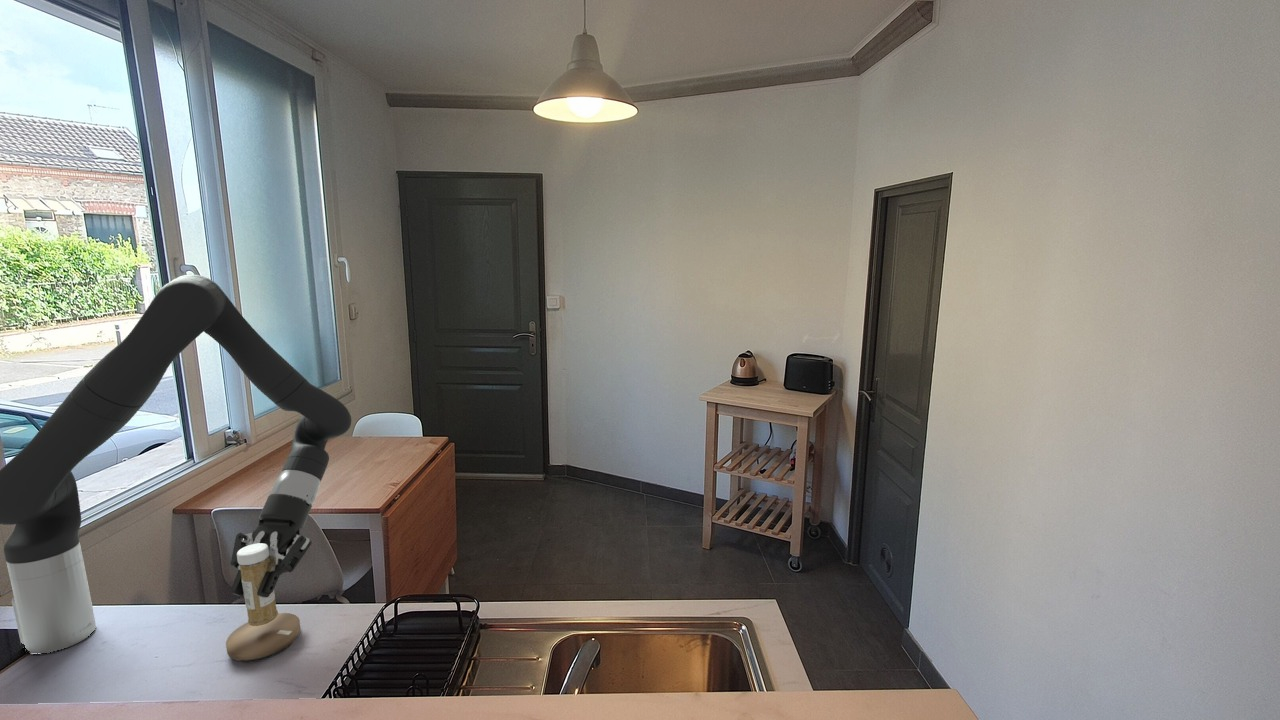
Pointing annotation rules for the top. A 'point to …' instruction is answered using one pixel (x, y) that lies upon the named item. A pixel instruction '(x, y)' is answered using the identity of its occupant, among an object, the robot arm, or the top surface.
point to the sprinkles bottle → (256, 583)
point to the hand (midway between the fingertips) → (249, 595)
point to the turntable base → (266, 656)
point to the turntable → (263, 637)
